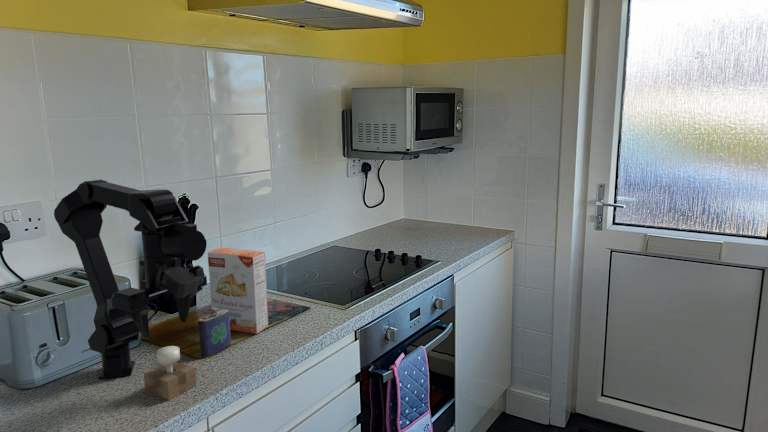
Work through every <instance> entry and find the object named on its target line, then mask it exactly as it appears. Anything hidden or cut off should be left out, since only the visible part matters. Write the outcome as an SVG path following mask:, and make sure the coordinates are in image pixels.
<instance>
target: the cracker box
mask: <svg viewBox="0 0 768 432" xmlns="http://www.w3.org/2000/svg"><path fill="white" fill-rule="evenodd" d="M207 262H208V276H209V279H208V280H209V291H210V294H209V295H210V305H211V306H210V309H211V308H217V309H219V310H217V311H220V310H223V309H226V310H229V321H230V331H233V332H239V333H246V334H251V335H259V333H261V332H262V331H264V330H265V329H267V328H268V327H269V313H268V312H269V311H268V309H269V308H268V290H267V272H266V271H267V270H266V252H265V251H258V250H247V249H241V248H239V249H238V248H230V247H218V248H216V249H213V250H210V251H208V252H207ZM212 311H213V310H212V309H211V312H212Z"/></svg>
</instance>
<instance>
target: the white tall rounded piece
mask: <svg viewBox="0 0 768 432" xmlns="http://www.w3.org/2000/svg"><path fill="white" fill-rule="evenodd" d="M180 359H181V352H180V347H179V346H176V345H168V346H164V347H160V348H159V349H157V350H156V362H157V364H159V365H164V364H166V371H167V373H168V374H170V373H172V372H173V366H172V363H175V362H179V361H180Z"/></svg>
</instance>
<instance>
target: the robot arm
mask: <svg viewBox="0 0 768 432" xmlns="http://www.w3.org/2000/svg"><path fill="white" fill-rule="evenodd" d="M107 206H108V207H109V206H110V207H114V208H116V209H117V208H118V209H121V210H125V211H126V212H128V214H129V216H130V217H131V218H133V219H135V220H136V221H138V224H136V225H135V226H134V227H133V230H134V232H140V233H141V244H142V254H143V259H140V260H139V266H141V267H144V276H145V279H142V280H141V286H142V287H145V288H143V289H140V288H134V287H128V288H124V289H120V288H119V287H118V284H117V281H116V276H115V275H114V272H113V269H112V267H111V263H110V260H109V257H108V256H107V252H106V250H105V246H104V243H103V241H102V238H101V235H100V234H101V231H102V230H101V229H102V226H103V223H104V220H103V215H102V213H103V212H104V211H105V209H106V208H107ZM53 216H54V219H55V221H56V222H57V224H58V226H59V229H60V230H61V232H62V234H64V235H65V236H66V237H67V238H68V239H70V240H71V241H72V242H73V243H74V244H75V247H76V250H77V252H78V254H79V255H78V256H79V258H80V261H81V265H82V266H83V269H84V272H85V275H86V278H87V281H88V284H89V287H90V289H91V291H92V292H91V293H92V294H93V298H94V301H95V303H96V309H95V310H96V311H95V313H94V317H93V323H94V327H95V328H94V329H95V330H94V331H93V332H92V333H91V336H90V337H89V338H88V339H87V343H88V346H89V349H90V351H93V352H97V353H99V354H100V358H101V368H102V369H101V370H100V372H99V375H98V379H99V380H101V379H102V380H103V379H110V378H118V377H126V376H131V375H132V374H133V371H134V368H135V365H136V360H132V359H131V349H130V344H131V343H132V342H135V341H138V340H139V338H140V334H141V336H142V337H143V338H146V339H149V337H150V325H149V314H148V313H149V312H150V311H151V309H152V306H149V303H150V301H151V300H150V298H153V297H156V296H159V295H163V294H164V293H167V292H170V293H171V294H172V295H173V296H174V299H175V304H176V308H177V313H178V316H179V320H180V322H181V323H186V322H187V321H188V317H189V313H190V309H191V305H192V302H193V299H194V297H195V296H196V295H197V294H198V293H199V292H201V291H202V290H203V289H204V286H207V285H208V280H207V279H208V277H207V275H206V274H205V271H204V267H203V266H201V265H198V264H197V265H195V266H191V267H190V268H189V267H187V268H183V266H182V260H186V261H190V262H191V261H195V262H196V261H198V260H199V259H201V258H202V257H203V256H204V254H205V253H206V250H207V239H206V237H205V235H204V233H202V232H201V231H199V230H198V225H197V224H196V223H189V222H190V221H189V219H188V217H187V214H186V213H185V211H184V210H183V208H182V207H181V206H180V203H179V202H178V201H177V199H176V196H174V194H173V192H172V191H171V190H169V189H147V190H145V189H143V190H140V189H136V188H132V187H128V186H124V185H120V184H116V183H112V182H108V181H106V180H103V179H94V180H87V181H86V180H85V181H83V182H80V183H79V184H78V186H77V188H75V190H73V191H72V192H70V193H68V194H67V195H65V196H64V197H62V199H61V200H60V201H59V203H58V204H57V205H56V207H55V208H54V211H53Z"/></svg>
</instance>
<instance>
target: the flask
mask: <svg viewBox="0 0 768 432" xmlns="http://www.w3.org/2000/svg"><path fill="white" fill-rule="evenodd" d="M210 309H212V310H213V311H212V310H211V312H210V313H209V314H208V315H206V316H204V315H203V316H202V317H200V318H199V319H198V320H197V328H198V336H199V346H200V347H199V348H200V358H203V359H207V358H210V357H212V356H215V355H218V354H219V353H221V352H222V351H225V350H226V349H228V348H229V347H230V346H231V345H232V338H231V337H232V336H231V330H230V321H229V310H226V309H223V310H220V311H217V310H219V309H217V308H211V307H210Z"/></svg>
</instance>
